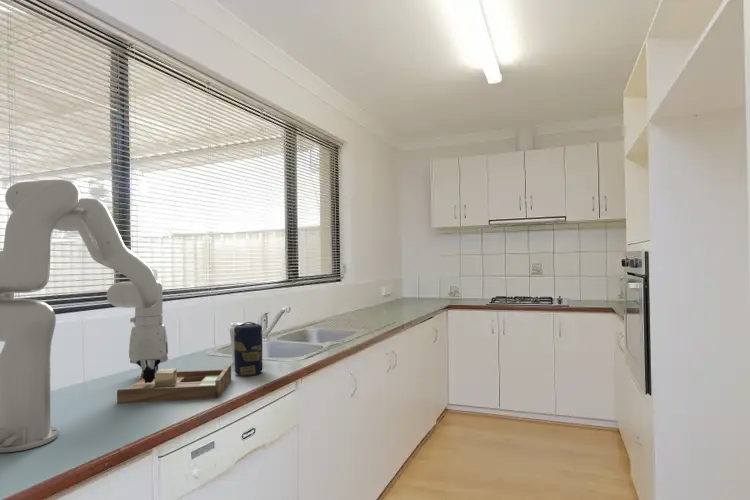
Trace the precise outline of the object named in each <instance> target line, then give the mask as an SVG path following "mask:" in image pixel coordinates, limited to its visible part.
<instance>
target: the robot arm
mask: <svg viewBox="0 0 750 500" xmlns="http://www.w3.org/2000/svg"><path fill="white" fill-rule="evenodd" d="M4 196H5V197H4V199H5V200H4V201H5V204H6V206H7V207H8V209H9V211H11V212H12V213H11V214H10V216H9V217H8V220H7V223H6V226H5V230H4V239H3V248H2V250H0V342H4V345H3V348H2V349H1V351H0V453H13V452H20V451H26V450H29V449H34V448H37V447H40V446H42V445H45V444H49V443H51V442H52V441H54V440H56V439H57V438H58V436H59V433H60V432H59V431H60V430H59V429H58V427H55V426H52V425H51V424H52V423H51V421H52V420H51V417H52V416H51V414H52V413H51V410H52V409H51V401H52V400H51V399H52V398H51V397H52V396H51V395H52V394H51V392H52V391H51V382H52V381H51V376H52V375H51V351H52V342H53V337H54V334H55V333H54V332H55V328H56V325H57V324H56V323H57V321H56V320H57V317H56V313H55V311H54V308H53V307H52V306H51V305H50V304H48V303H47V302H45V301H42V300H38V299H33V298H32V299H31V298H15V294H25V293H27V294H28V293H36V292H39V291H41V290H43V289H45V288H46V286H47V285H48V284H49V283H48V282H49V279H50V273H51V248H52V236H53V231H54V230H57V231H61V232H78V233H79V236H80V237H81V239H82V241H83V243H84V245H85V247H86V249H87V251H88V252H89V255H90V256H91V259H92V260H93V261H94V262H96V263H97V264H99V265H102V266H104V267H107V268H109V269H111V270H114V271H116V272H119V273H120V274H122V275H123V276H125V277H126V278H127V279H128V281H118V282H116V283H114V284H111V286H110V287H109V288H108V290H107V292H106V299H107V301H108V303H109V304H110V305H112V306H113V307H116V308H121V309H123V308H127V309H129V308H130V309H132V308H134V317H131V318H129V319H130V320H129V321H130V323H133V326H132V327H131V331H130V337H129V347H128V359H129V363H130V364H134V365H138V367H140V368H141V371H142V370H143V379H144V380H145V383H148V382H149V383H151V382H152V381H153V380H154V379H155V367H156V366H157V365H158V366H159V365H160V364H162V363H165V362H168V360H169V356H168V354H169V348H168V347H169V344H168V343H169V342H168V334H167V329H166V325H165V324H163V318H164V317H163V316H164V315H163V284H162V282H161V281H160V280H157V279H156V276H155V273H154V272H153V270H152V269H151V267H150V266H149V265H148V263H146V262H145V261H144V260H143V259H141V258H140V257H139V256H138V255H137V254H136V253H135V252H134V251H131V249H129V248H128V247H126V244H125V243H124V241H123V239H122V236H121V234H120V233H119V230H118V227H117V226H116V223H115V221H114V220H113V217H112V215H111V213H110V211H109V209H108V207H107V205H106V204H105V203H104V202H103V201H101V200H99V199H96V198H81V191H80V189H79V187H78V186H77V185H76V183H74V182H72V181H69V180H65V179H44V180H30V181H21V182H20V181H19V182H18V183H15V184H12V185H11V186H9V188H8V189H7V190H6V192H5V195H4ZM148 360H151V363H150V367H149V364H148Z"/></svg>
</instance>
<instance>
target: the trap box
mask: <svg viewBox="0 0 750 500" xmlns="http://www.w3.org/2000/svg"><path fill="white" fill-rule="evenodd" d="M155 373H156V372H155ZM231 381H232V364H227V365H225V366H224V369H222V368H221V369H206V370H205V369H203V370H202V369H199V370H198V369H197V370H181V371H179V370H177V382H176V383H175V384H174V385H173V386H161V387H155V379H154V380H153V381H152V382H151V383H149V382H148V383H145V380H144V379H143V373H142V372H141V373H140V380H139V381H137V382H136V383H134V384H132V386H130V387H129V388H121V389H120V388H119V389H117V391H116V403H117V404H120V403H121V404H123V403H142V402H158V401H159V402H161V401H163V402H164V401H181V400H182V401H183V400H200V399H203V400H204V399H220V398H221V397H222V395H223V393H224V392H225V390H226V388H227V387H228V385H229V383H230V382H231Z"/></svg>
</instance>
